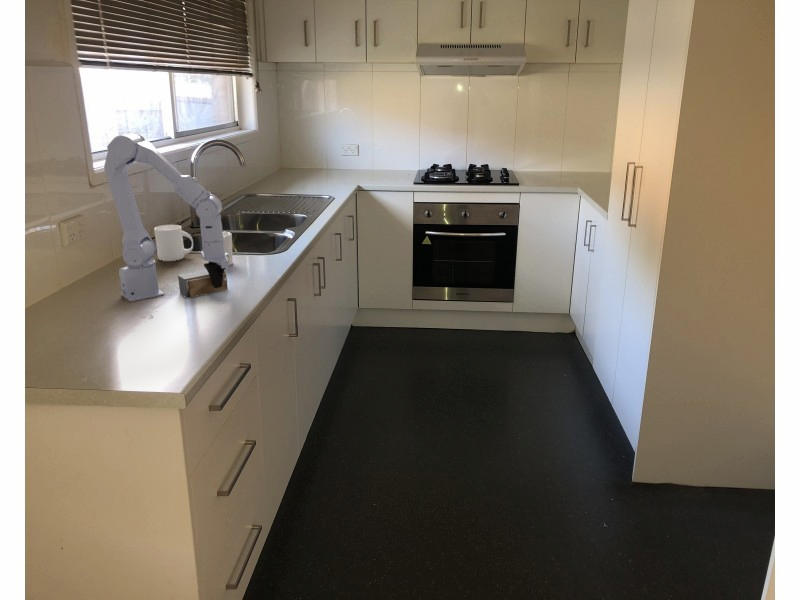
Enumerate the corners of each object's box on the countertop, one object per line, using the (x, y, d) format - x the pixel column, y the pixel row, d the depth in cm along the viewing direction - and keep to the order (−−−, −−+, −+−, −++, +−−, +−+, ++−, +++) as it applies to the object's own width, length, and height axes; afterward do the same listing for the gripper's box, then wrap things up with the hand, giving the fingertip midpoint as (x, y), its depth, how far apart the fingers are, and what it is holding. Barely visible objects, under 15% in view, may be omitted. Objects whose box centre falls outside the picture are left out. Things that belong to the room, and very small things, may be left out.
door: (188, 298, 176) (186, 282, 174) (186, 297, 177) (184, 280, 175) (229, 289, 183) (227, 274, 181) (226, 288, 184) (224, 272, 182)
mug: (192, 261, 213) (188, 229, 210) (155, 262, 212) (151, 230, 209) (197, 254, 221) (193, 224, 218) (161, 255, 220) (157, 225, 217)
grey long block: (186, 297, 177) (184, 279, 175) (180, 293, 181) (177, 275, 179) (227, 289, 184) (225, 271, 183) (220, 285, 188) (218, 267, 186)
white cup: (239, 263, 211) (236, 233, 207) (221, 268, 204) (218, 238, 201) (222, 259, 215) (219, 230, 211) (204, 265, 208) (201, 235, 205)
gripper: (237, 242, 173) (242, 290, 177) (215, 233, 183) (220, 278, 188) (212, 246, 168) (218, 295, 173) (191, 237, 179) (197, 283, 183)
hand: (217, 287), depth 180 cm, fingers closed
